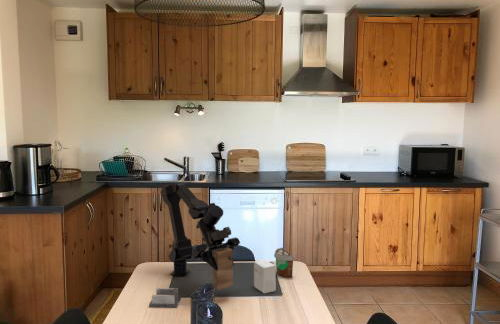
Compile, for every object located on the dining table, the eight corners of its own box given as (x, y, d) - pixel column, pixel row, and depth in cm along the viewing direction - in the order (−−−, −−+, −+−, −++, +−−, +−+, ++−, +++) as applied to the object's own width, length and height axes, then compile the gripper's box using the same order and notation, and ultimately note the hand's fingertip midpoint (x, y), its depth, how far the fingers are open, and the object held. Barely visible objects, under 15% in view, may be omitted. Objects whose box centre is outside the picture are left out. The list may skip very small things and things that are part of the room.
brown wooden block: (213, 287, 152) (213, 250, 151) (227, 283, 156) (228, 247, 155) (219, 291, 149) (219, 253, 148) (234, 286, 153) (234, 250, 151)
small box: (275, 291, 162) (276, 265, 161) (263, 294, 159) (263, 267, 158) (265, 284, 169) (265, 259, 168) (253, 286, 166) (253, 261, 165)
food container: (269, 269, 185) (270, 248, 183) (282, 268, 186) (282, 247, 185) (280, 280, 173) (280, 257, 172) (293, 278, 175) (293, 255, 174)
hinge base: (154, 297, 156) (154, 287, 155) (181, 297, 155) (180, 287, 155) (149, 307, 148) (148, 296, 147) (176, 307, 147) (176, 296, 147)
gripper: (195, 224, 148) (211, 262, 140) (237, 216, 159) (254, 252, 152) (184, 240, 155) (200, 277, 147) (226, 232, 166) (242, 266, 159)
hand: (225, 267), depth 151 cm, fingers closed on brown wooden block, 6 cm apart
